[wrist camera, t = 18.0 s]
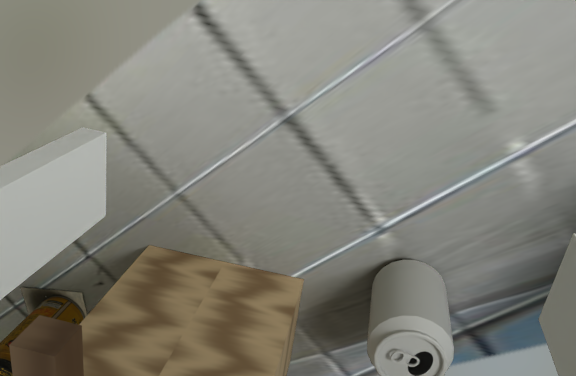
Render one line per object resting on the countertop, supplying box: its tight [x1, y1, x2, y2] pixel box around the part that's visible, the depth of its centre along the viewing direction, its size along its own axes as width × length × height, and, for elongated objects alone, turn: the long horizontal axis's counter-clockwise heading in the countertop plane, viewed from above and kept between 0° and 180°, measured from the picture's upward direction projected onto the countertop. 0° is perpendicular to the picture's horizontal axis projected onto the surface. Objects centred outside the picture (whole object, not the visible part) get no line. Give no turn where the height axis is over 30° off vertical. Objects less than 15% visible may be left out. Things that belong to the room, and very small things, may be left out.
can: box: [367, 260, 454, 376], centre depth 51 cm, size 8×8×12 cm
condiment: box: [0, 287, 87, 376], centre depth 62 cm, size 7×8×12 cm
